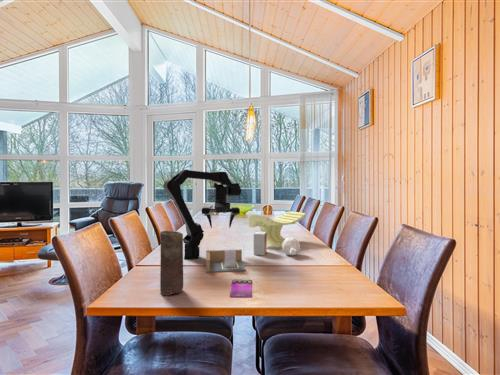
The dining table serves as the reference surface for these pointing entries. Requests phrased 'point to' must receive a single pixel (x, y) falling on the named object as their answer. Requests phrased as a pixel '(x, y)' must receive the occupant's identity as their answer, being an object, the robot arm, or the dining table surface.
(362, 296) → the dining table surface
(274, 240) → the slatted curved stool
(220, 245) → the dining table surface
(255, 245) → the small box
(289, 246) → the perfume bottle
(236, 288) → the smartphone
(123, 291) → the dining table surface
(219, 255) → the corner tray
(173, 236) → the grey-brown tall block
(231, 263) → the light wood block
